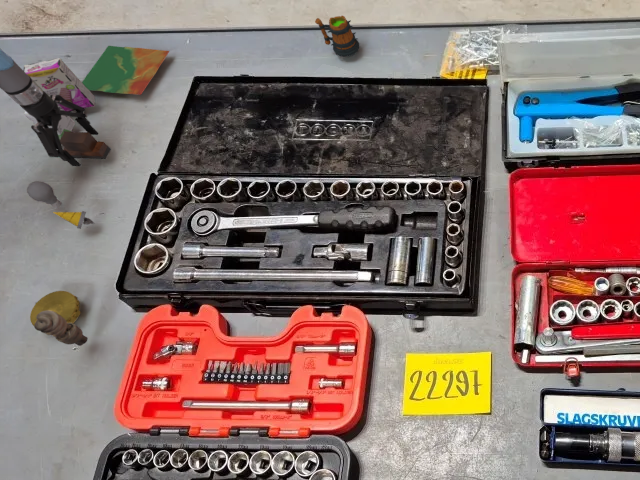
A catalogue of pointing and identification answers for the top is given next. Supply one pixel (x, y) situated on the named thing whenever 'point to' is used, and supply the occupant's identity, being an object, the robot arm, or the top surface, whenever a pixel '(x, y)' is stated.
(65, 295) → the yellow round disc
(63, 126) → the ink box
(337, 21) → the mug
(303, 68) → the top surface
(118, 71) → the terrain model
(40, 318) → the brown lumpy elongated piece
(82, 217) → the drill bit
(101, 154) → the brown stepped block
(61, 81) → the candy bar box
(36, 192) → the light bulb
